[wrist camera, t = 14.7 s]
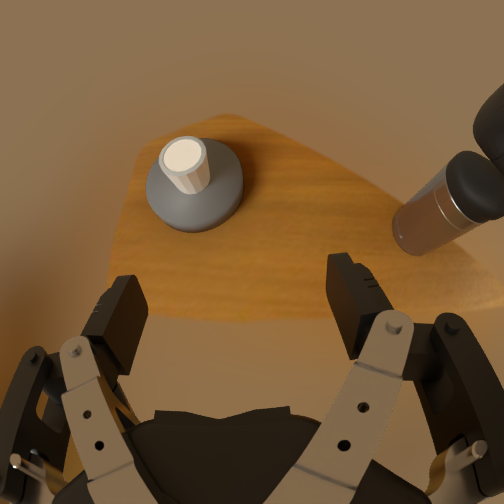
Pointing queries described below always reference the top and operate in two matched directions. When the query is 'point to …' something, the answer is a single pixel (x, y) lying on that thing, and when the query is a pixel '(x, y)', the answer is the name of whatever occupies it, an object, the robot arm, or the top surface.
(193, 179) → the white cup
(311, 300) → the top surface
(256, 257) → the top surface
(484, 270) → the top surface
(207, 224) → the stand
